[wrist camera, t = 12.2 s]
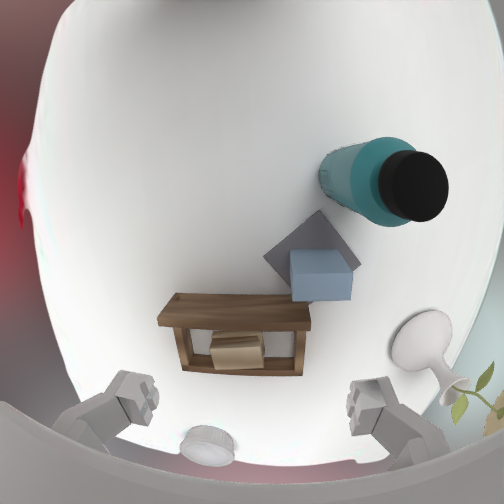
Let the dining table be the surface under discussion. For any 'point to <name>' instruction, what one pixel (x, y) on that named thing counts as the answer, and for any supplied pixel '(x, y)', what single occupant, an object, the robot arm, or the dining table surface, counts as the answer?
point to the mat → (309, 245)
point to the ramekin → (208, 446)
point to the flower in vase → (442, 365)
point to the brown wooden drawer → (237, 327)
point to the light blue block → (319, 275)
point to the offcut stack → (237, 349)
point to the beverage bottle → (386, 181)
